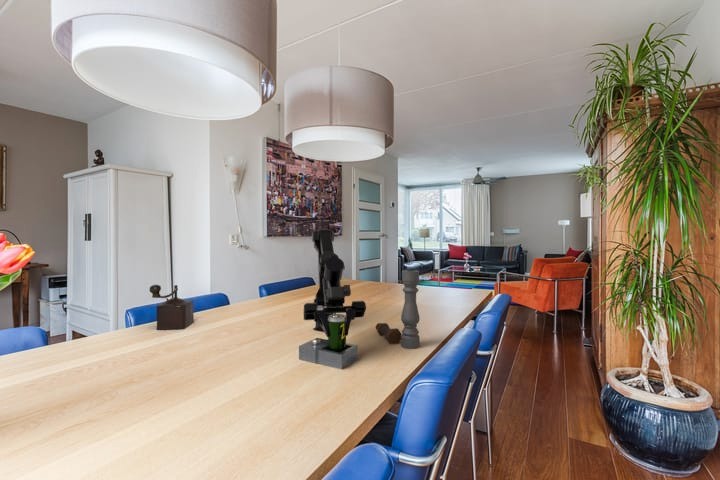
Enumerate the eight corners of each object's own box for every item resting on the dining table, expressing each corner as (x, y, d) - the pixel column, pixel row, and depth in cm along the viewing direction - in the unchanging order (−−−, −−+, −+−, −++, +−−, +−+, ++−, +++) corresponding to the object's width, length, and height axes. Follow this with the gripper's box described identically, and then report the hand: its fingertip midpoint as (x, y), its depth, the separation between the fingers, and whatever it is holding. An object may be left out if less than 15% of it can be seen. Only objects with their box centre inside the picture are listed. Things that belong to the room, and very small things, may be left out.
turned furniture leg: (420, 344, 116) (421, 270, 115) (417, 350, 110) (418, 272, 109) (402, 342, 118) (403, 269, 117) (398, 347, 112) (399, 271, 111)
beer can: (325, 359, 98) (325, 318, 98) (330, 352, 104) (330, 313, 103) (343, 360, 98) (344, 318, 97) (347, 353, 103) (347, 314, 102)
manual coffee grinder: (166, 323, 141) (166, 279, 141) (194, 322, 143) (194, 279, 142) (147, 334, 126) (146, 285, 126) (178, 333, 127) (178, 285, 127)
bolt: (381, 336, 130) (397, 348, 116) (370, 330, 129) (384, 341, 115) (388, 322, 131) (404, 332, 117) (377, 316, 130) (392, 326, 116)
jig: (298, 359, 102) (298, 342, 101) (317, 350, 109) (316, 334, 109) (341, 369, 94) (341, 351, 94) (357, 358, 102) (357, 342, 102)
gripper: (303, 276, 102) (306, 323, 91) (365, 274, 106) (373, 319, 95) (302, 297, 110) (304, 342, 99) (359, 295, 114) (367, 338, 103)
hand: (337, 335), depth 99 cm, fingers closed on beer can, 5 cm apart
